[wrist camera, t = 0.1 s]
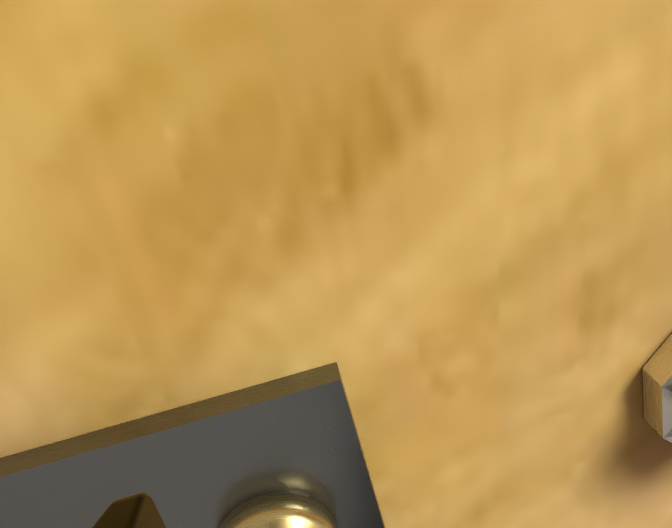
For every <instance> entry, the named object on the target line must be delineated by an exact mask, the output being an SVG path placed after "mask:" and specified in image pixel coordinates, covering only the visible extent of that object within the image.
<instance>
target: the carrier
mask: <svg viewBox="0 0 672 528" xmlns="http://www.w3.org/2000/svg"><path fill="white" fill-rule="evenodd" d="M142 492H143V493H147V494H148V495H149V496H150V497H151V498H152V500H153V502H154V504H155V506H156V508H157V510H158V512H159V514H160V516H161V518H162V520H163V522H164V524H165V526H166V528H385V525H384V522H383V519H382V515H381V512H380V508H379V505H378V502H377V498H376V495H375V491H374V488H373V485H372V481H371V478H370V474H369V471H368V468H367V464H366V461H365V457H364V454H363V451H362V447H361V444H360V440H359V437H358V434H357V430H356V427H355V423H354V420H353V416H352V413H351V410H350V406H349V403H348V399H347V396H346V393H345V389H344V386H343V382H342V379H341V376H340V372H339V369H338V365H337V362H336V363H332V364H329V365H325V366H322V367H319V368H315V369H312V370H308V371H305V372H301V373H298V374H294V375H291V376H287V377H284V378H280V379H277V380H273V381H270V382H266V383H263V384H259V385H256V386H252V387H249V388H245V389H242V390H238V391H235V392H231V393H228V394H224V395H221V396H217V397H214V398H210V399H207V400H203V401H200V402H196V403H193V404H189V405H186V406H182V407H179V408H175V409H172V410H168V411H165V412H161V413H158V414H154V415H151V416H147V417H144V418H140V419H137V420H133V421H130V422H126V423H123V424H119V425H116V426H112V427H109V428H105V429H102V430H98V431H95V432H91V433H88V434H84V435H81V436H77V437H74V438H70V439H67V440H63V441H60V442H56V443H53V444H49V445H46V446H42V447H39V448H35V449H32V450H28V451H25V452H21V453H18V454H14V455H11V456H7V457H4V458H0V528H92V526H93V525H94V524H95V523H96V521H97V520H98V519H99V518H100V516H101V515H102V514H103V513H104V511H105V510H106V509H107V508H108V506H109V505H110V504H111V503H112V502H113V501H115V500H117V499H119V498H123V497H127V496H130V495H134V494H137V493H142Z"/></svg>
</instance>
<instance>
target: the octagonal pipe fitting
mask: <svg viewBox="0 0 672 528" xmlns="http://www.w3.org/2000/svg"><path fill="white" fill-rule="evenodd" d="M642 376H643V403H644V419H645V420H646V421H647V422H648V423H649V424H650V425H651V426H652V427H653V428H654V429H655V430H656V432H657V433H658V434H659V435H660V436H661V437H662V438H663V439H665V440H667V441H669V442H671V443H672V334H671V335H670V336H669V337H668V338H667V340H666V341H665V342H664V343H663V344H662V345H661V347H660V348H659V349H658V350H657V351H656V352H655V354H654V355H653V356H652V357H651V358H650V359H649V361H648V362H647V363H646V364H645V365H644V367H643V368H642Z"/></svg>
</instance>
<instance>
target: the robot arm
mask: <svg viewBox="0 0 672 528" xmlns="http://www.w3.org/2000/svg"><path fill="white" fill-rule="evenodd" d="M92 528H166V526H165V524H164V522H163V520H162V518H161V516H160V514H159V512H158V510H157V508H156V506H155V504H154V502H153V500H152V498H151V497H150V496H149V495H148V494H147V493H143V492H142V493H137V494H134V495H130V496H127V497H123V498H119V499H117V500H115V501H113V502H112V503H111V504H110V505H109V506H108V508H107V509H106V510H105V511H104V513H103V514H102V515H101V516H100V518H99V519H98V520H97V521H96V523H95V524H94V525H93V526H92Z"/></svg>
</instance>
